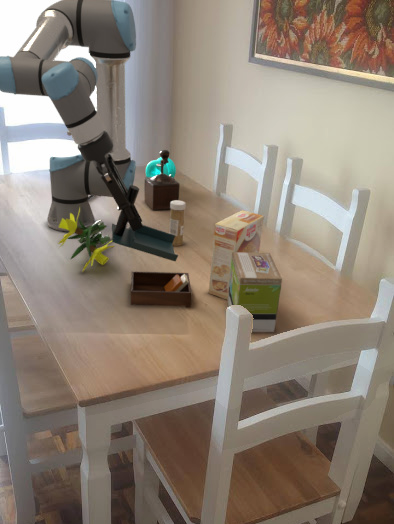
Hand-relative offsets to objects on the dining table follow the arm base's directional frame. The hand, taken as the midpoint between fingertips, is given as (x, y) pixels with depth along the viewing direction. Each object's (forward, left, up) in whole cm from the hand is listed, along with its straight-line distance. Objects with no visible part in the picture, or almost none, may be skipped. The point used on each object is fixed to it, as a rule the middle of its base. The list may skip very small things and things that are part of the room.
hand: (137, 225), depth 142 cm
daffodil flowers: (-22, -14, -18) cm, 32 cm away
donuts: (-101, +9, -18) cm, 103 cm away
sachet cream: (+1, +11, -15) cm, 19 cm away
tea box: (+13, +28, -18) cm, 36 cm away
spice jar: (-35, +12, -18) cm, 41 cm away
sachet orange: (+1, +10, -16) cm, 19 cm away
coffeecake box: (-4, +26, -18) cm, 32 cm away
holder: (+2, +6, -18) cm, 19 cm away
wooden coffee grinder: (-75, +8, -18) cm, 77 cm away
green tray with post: (0, +2, -5) cm, 5 cm away
